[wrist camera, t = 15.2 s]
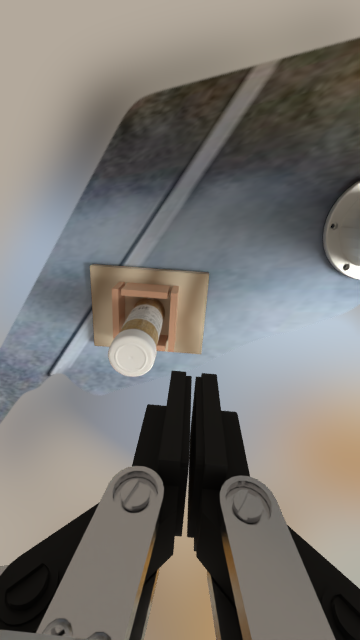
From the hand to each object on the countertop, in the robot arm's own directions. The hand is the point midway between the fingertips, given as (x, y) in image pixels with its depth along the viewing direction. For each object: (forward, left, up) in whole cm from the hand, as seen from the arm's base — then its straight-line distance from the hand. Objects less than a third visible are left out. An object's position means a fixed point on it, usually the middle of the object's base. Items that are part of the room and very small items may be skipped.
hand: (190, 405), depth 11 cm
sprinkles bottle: (+6, +7, -28) cm, 29 cm away
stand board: (+6, +7, -29) cm, 31 cm away
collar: (+6, +7, -28) cm, 29 cm away
